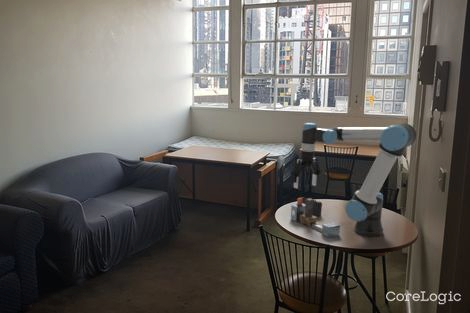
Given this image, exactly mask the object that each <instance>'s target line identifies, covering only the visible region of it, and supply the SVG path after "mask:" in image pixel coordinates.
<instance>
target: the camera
mask: <svg viewBox="0 0 470 313" xmlns="http://www.w3.org/2000/svg"><path fill="white" fill-rule="evenodd" d="M301 198H302V203H303V204H305V205H306V199H309V198H311V199H313V214H312V215H313V216H315V217H317V218H320V217H322V208H323V202H321V201H317V200H316V199H314V198H312V197H309V198H305V197H303V196H301Z"/></svg>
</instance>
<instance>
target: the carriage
mask: <svg viewBox="0 0 470 313" xmlns="http://www.w3.org/2000/svg"><path fill="white" fill-rule="evenodd" d="M311 198H312V197H309V199H308V198H305V199H306V205H305V214H301V215H300V219H301V222H300V223H301V224H303V225H306V226H307V227H309V228H310V224H311V223H313V222H314V223H316V224H317V222H318V217H316V216H313V215H312V214H313V199H314V198H312V199H311Z"/></svg>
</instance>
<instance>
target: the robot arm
mask: <svg viewBox="0 0 470 313" xmlns="http://www.w3.org/2000/svg"><path fill="white" fill-rule="evenodd" d="M301 134H302V137H301V138H302V139H301V146H300V149H301V150H300V159H296V161H295V164H294V166H293V169H292V171H291V173H290V176H291V177H293V181H292V182H293V188H294V189H299V175H300V174H301V172H302V171H303V170H304V168H307V167H308V168H310V169H311V171H312V173H313V174H312V178H311V179H312V180H311V186H314V187H316V186H317V181H318V176H319V175H320V174H321V173H322V171H321V169H320V166H319V162H318V161H319V160H318V158H317V157H315V150H316V142H317V143H322V144H327V145H328V144H332V145H333V144H335V143H336V142H337V141H338V142H339V141H340V142H343V141H346V142H348V141H349V142H380V143H379V145H378V148H379V152H378V154H377V156H376V158H375V160H374V162H373V164H372V165H371V168H370V169H369V172H368V173H367V174H366V177H365V180H364V181H363V183H362V185H361V187H360V189H359V190H358V189H357V190H356V191H355V192H354V195H353V196H352V198H351V199H350V200H349V201H348V200H347V203H346V204H345V206H344V207H345V213H346V215H347V217H348V218H349V219H350V220H352V221H354V222H355V225H354V229H353V230H354V232H355V233H357V234H359V235H362V236H364V237H371V238H375V237H380V236H383V234H384V228H383V224H382V212H383V203H384V195H383V194H382V193H381V192H380V190H381V189H382V187H383V185H384V183H385V181H386V179H387V178H388V175H389V174H390V172H391V169H392V168H393V166H394V165H395V163H396V160H397V159H399V158H401V157H402V156H403V155H404V153H405V152H406V148H407V147H410V146H412V145H414V143H415V142H416V140H417V137H418V135H417V130H416V128H415V127H414V126H413V125H411V124H408V123H399V124H391V125H389V126H385V127H384V126H383V127H381V126H378V127H377V126H375V127H374V126H368V127H367V126H365V127H364V126H363V127H362V126H355V127H354V126H348V127H347V126H344V127H342V126H335V127H330V128H320V127H318V126H317V123H314V122H305V123H304V124H303V125H302V132H301Z"/></svg>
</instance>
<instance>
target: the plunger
mask: <svg viewBox="0 0 470 313" xmlns="http://www.w3.org/2000/svg"><path fill="white" fill-rule="evenodd" d="M296 200H297V203H296V204H297V206H302V197H298V198H297V199H296Z"/></svg>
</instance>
